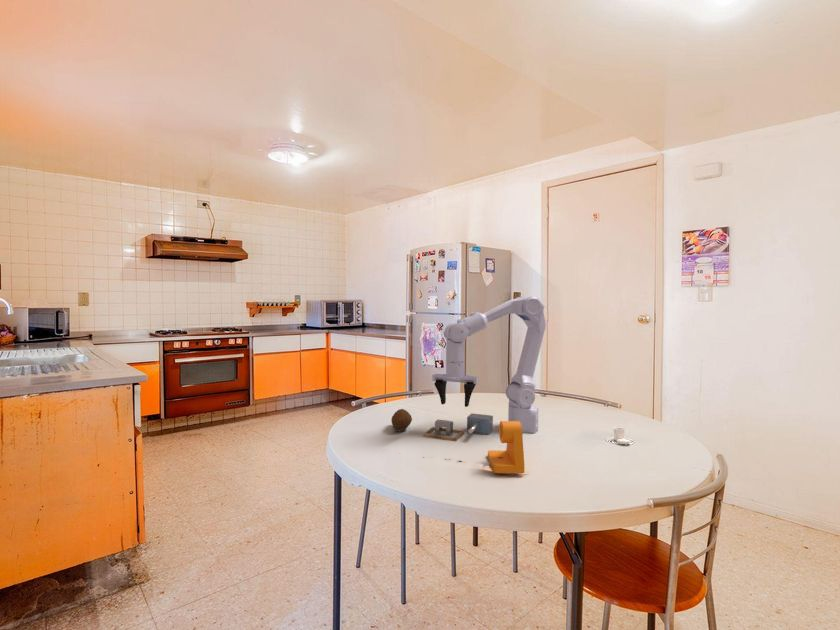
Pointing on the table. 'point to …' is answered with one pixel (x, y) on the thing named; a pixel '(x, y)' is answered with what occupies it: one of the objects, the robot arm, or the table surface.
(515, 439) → the bracket
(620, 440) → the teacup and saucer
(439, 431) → the block
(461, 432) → the tray
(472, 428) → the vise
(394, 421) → the potato
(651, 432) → the table surface
